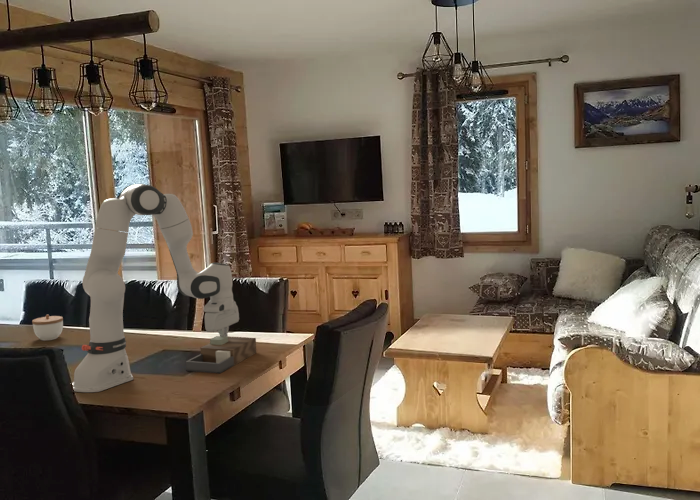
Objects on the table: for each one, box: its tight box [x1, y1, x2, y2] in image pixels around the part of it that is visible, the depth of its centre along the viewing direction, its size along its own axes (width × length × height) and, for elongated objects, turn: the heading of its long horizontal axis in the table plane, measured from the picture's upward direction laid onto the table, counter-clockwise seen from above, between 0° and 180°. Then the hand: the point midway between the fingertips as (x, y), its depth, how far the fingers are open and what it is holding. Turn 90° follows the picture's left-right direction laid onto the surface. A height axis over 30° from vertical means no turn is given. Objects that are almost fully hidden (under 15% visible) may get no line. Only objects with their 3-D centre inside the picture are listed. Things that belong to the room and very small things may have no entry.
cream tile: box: [216, 350, 230, 363], centre depth 233 cm, size 5×5×2 cm
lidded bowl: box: [31, 314, 64, 341], centre depth 286 cm, size 13×13×11 cm
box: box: [185, 353, 235, 374], centre depth 232 cm, size 10×14×4 cm
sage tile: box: [209, 335, 228, 345], centre depth 244 cm, size 5×5×2 cm
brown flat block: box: [199, 335, 258, 366], centre depth 245 cm, size 18×14×6 cm
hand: (223, 338), depth 248 cm, fingers closed
